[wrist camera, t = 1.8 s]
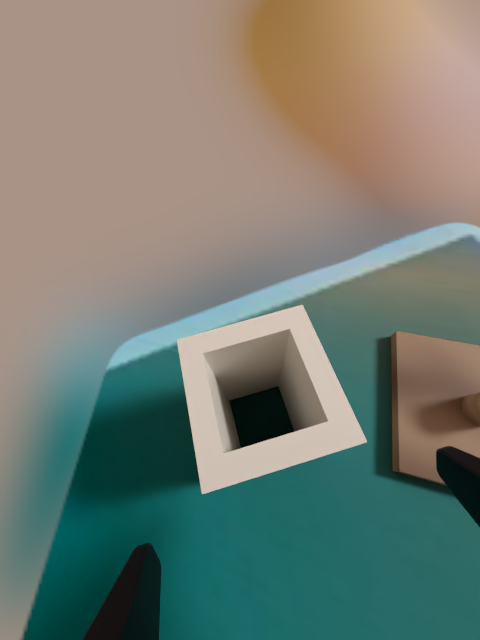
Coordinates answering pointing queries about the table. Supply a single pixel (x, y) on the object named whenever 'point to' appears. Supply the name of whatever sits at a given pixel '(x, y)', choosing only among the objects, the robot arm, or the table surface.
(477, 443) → the post stand
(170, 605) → the table surface
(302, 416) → the sleeve
